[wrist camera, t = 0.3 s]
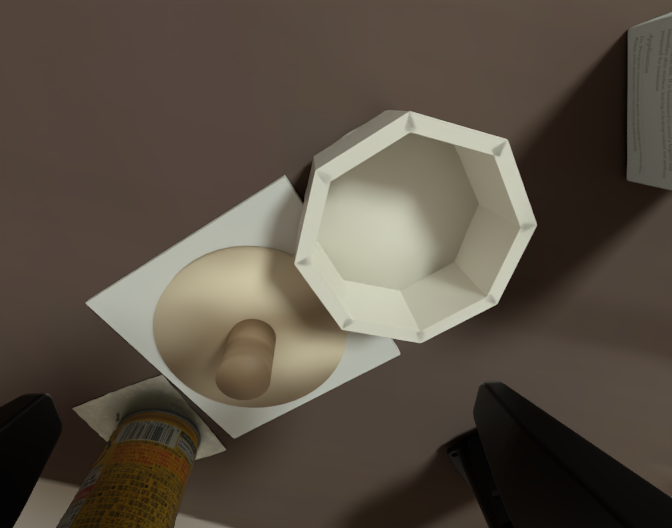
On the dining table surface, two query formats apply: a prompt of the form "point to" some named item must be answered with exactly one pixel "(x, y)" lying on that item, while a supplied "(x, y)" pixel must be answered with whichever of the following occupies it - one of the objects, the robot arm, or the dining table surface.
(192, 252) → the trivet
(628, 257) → the dining table surface
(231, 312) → the lid
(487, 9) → the dining table surface
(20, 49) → the dining table surface
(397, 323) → the bowl
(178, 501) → the condiment
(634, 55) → the skincare box
